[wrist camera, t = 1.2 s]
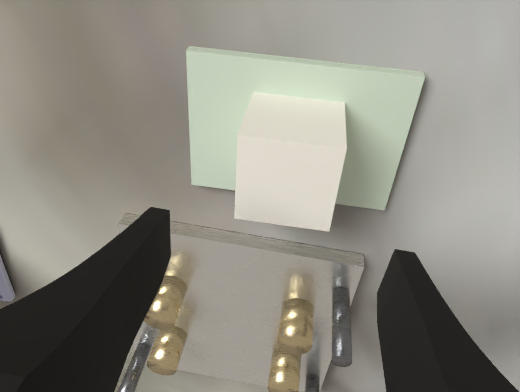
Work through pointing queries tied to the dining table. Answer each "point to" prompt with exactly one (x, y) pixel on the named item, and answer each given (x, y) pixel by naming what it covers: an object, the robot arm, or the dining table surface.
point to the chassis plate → (248, 310)
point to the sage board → (302, 77)
